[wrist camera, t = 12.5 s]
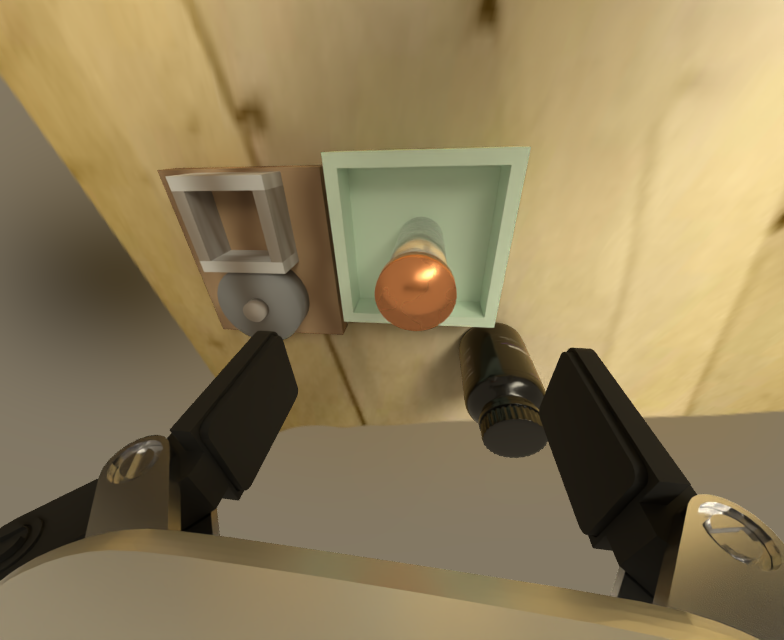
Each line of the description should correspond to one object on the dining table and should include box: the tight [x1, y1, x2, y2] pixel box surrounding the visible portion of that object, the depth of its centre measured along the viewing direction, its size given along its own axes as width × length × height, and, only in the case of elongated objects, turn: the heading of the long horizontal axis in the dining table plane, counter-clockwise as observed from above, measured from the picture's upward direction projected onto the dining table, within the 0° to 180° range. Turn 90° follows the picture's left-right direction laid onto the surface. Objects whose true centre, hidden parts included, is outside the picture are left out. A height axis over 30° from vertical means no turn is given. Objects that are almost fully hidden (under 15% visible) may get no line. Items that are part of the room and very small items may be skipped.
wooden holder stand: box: [157, 165, 348, 340], centre depth 26 cm, size 14×16×6 cm
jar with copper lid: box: [375, 217, 457, 331], centre depth 20 cm, size 5×5×11 cm
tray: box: [321, 146, 531, 328], centre depth 24 cm, size 14×14×4 cm
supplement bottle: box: [459, 322, 548, 458], centre depth 26 cm, size 7×7×12 cm
